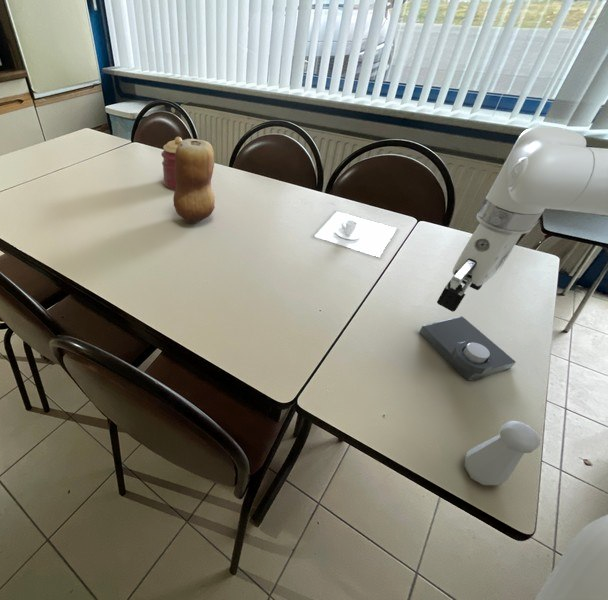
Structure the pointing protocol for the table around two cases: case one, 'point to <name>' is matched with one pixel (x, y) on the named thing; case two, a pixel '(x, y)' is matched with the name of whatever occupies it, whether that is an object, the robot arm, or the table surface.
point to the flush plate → (454, 339)
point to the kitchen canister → (170, 162)
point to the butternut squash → (194, 180)
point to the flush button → (476, 352)
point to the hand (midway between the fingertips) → (458, 296)
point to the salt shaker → (501, 453)
